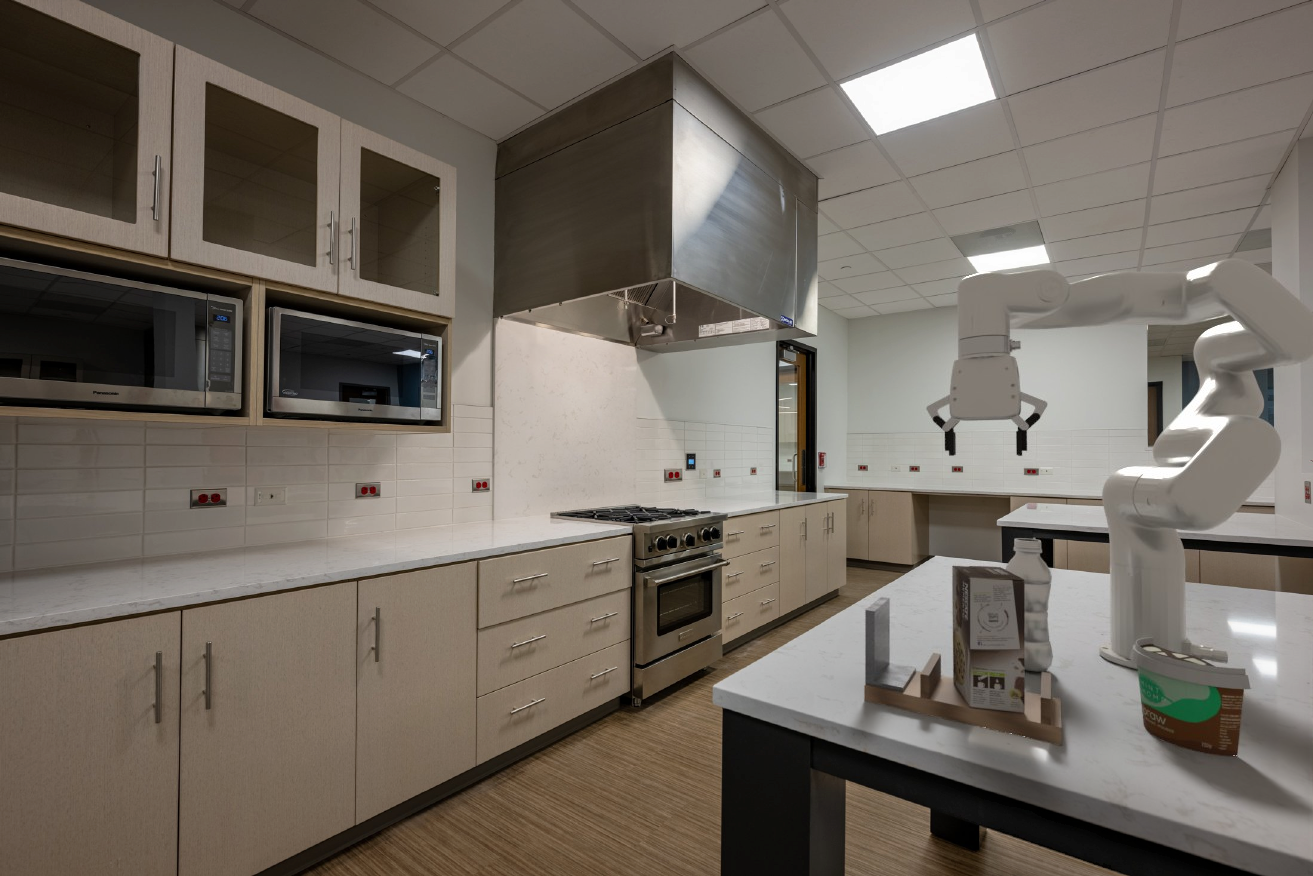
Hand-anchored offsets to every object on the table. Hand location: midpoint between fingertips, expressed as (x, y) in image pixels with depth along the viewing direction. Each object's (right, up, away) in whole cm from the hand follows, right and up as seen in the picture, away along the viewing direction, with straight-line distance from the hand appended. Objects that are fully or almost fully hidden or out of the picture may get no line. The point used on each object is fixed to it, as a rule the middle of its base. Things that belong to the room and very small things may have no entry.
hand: (985, 455), depth 98 cm
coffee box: (-11, -31, -21) cm, 38 cm away
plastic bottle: (+4, -33, -4) cm, 34 cm away
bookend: (-21, -30, -14) cm, 40 cm away
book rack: (-14, -33, -19) cm, 40 cm away
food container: (+8, -33, -27) cm, 43 cm away
